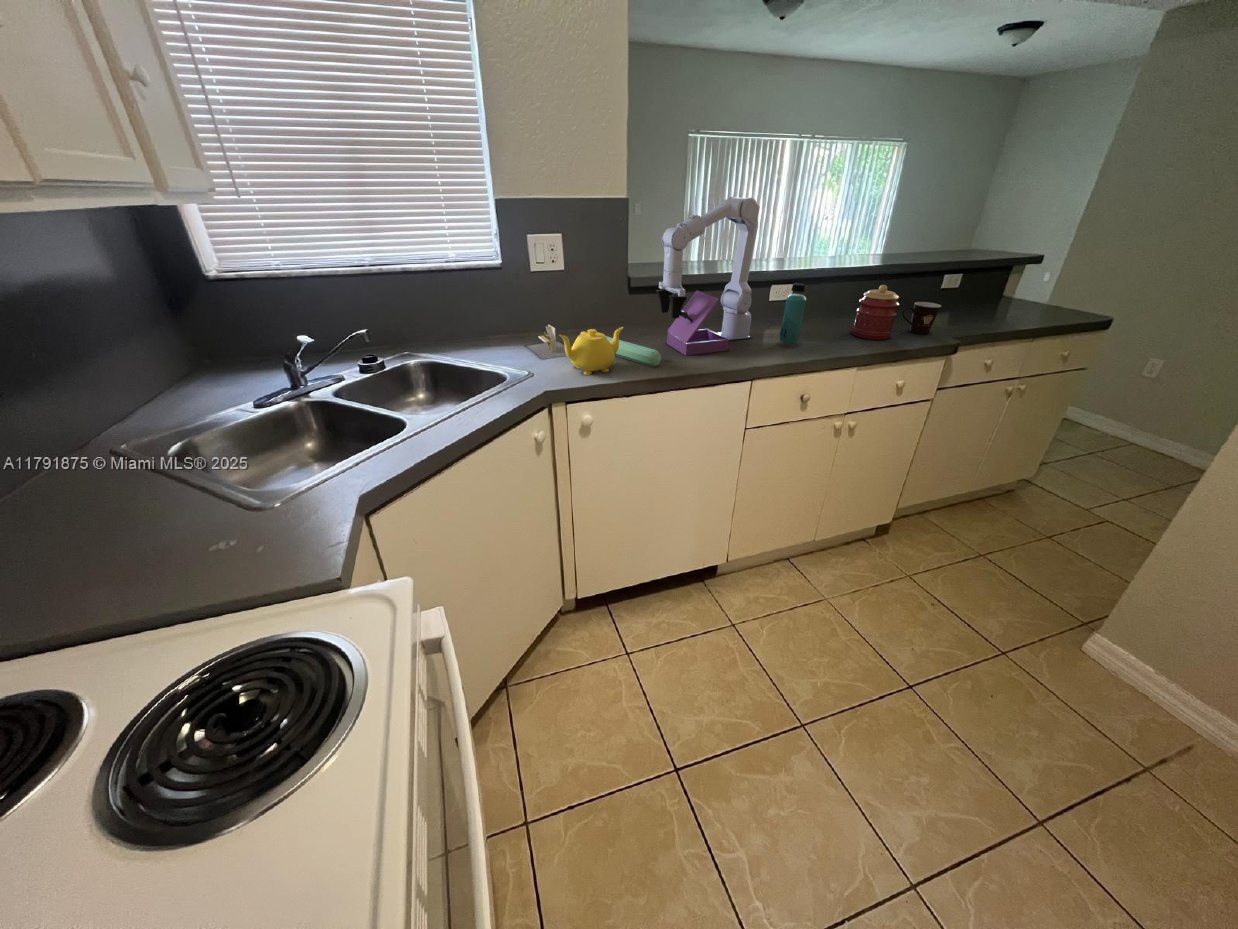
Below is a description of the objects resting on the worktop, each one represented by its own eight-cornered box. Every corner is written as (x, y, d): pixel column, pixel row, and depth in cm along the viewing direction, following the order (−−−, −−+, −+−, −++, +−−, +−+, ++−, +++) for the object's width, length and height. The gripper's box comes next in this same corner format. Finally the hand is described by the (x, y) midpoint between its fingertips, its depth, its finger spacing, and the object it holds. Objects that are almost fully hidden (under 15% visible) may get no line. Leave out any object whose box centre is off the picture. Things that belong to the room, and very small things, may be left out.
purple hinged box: (697, 291, 161) (688, 282, 158) (719, 299, 150) (709, 290, 147) (668, 331, 164) (658, 324, 161) (687, 343, 153) (677, 334, 150)
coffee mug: (932, 330, 185) (941, 303, 179) (931, 336, 178) (940, 308, 173) (898, 326, 190) (906, 299, 185) (896, 331, 184) (904, 304, 178)
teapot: (610, 356, 153) (611, 319, 147) (632, 370, 142) (634, 331, 136) (550, 364, 145) (548, 326, 140) (569, 381, 134) (567, 340, 128)
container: (662, 345, 143) (599, 328, 156) (651, 357, 140) (588, 339, 154) (665, 361, 147) (603, 343, 161) (654, 373, 145) (592, 354, 158)
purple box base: (706, 339, 171) (707, 328, 169) (727, 350, 160) (729, 339, 158) (666, 343, 166) (667, 332, 164) (685, 355, 155) (686, 343, 153)
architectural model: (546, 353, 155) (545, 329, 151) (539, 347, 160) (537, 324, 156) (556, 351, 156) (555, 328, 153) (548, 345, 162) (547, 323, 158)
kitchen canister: (896, 336, 177) (912, 286, 168) (876, 342, 170) (891, 290, 161) (864, 328, 186) (877, 280, 177) (843, 333, 180) (856, 283, 171)
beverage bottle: (800, 345, 167) (813, 283, 156) (792, 349, 162) (804, 286, 152) (783, 341, 170) (794, 281, 160) (774, 344, 166) (785, 283, 156)
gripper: (651, 267, 155) (649, 310, 162) (671, 275, 144) (668, 321, 151) (671, 266, 157) (668, 309, 164) (692, 274, 146) (688, 319, 153)
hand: (669, 315), depth 158 cm, fingers open, 7 cm apart
